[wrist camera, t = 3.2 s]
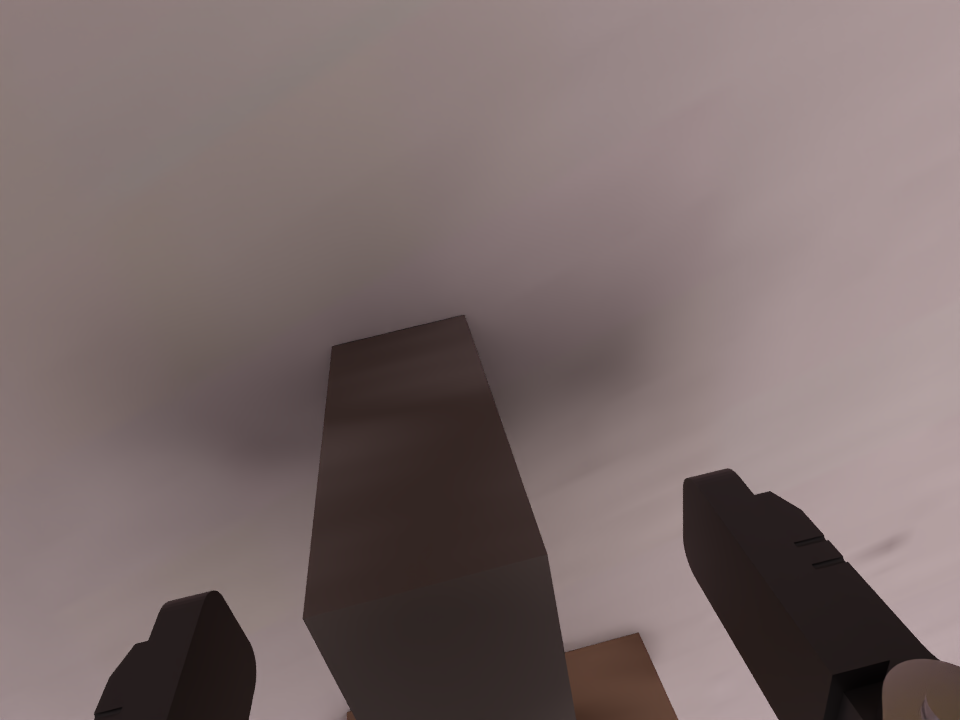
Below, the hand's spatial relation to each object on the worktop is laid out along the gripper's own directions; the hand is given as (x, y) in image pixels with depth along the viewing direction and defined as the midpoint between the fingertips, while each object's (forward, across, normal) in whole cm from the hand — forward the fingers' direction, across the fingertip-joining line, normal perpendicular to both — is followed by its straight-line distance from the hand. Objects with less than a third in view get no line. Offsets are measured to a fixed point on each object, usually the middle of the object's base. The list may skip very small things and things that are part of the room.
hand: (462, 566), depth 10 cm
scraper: (+5, 0, +5) cm, 7 cm away
